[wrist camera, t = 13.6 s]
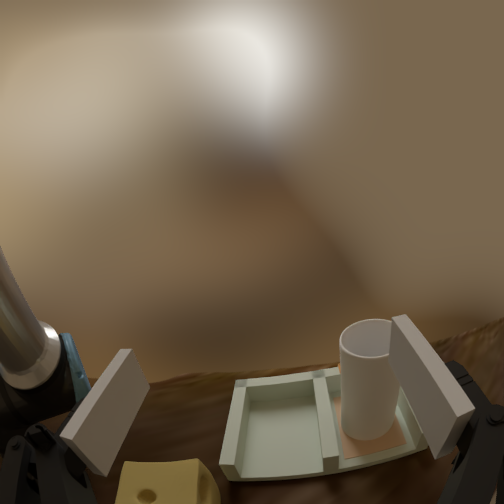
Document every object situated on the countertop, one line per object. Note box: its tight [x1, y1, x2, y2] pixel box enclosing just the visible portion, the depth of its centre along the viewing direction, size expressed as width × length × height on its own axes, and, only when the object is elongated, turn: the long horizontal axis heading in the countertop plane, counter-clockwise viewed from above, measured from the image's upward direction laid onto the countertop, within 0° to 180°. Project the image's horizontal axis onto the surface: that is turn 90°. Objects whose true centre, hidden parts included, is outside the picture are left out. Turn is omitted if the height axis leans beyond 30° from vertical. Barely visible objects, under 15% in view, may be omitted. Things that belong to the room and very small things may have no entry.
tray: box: [219, 364, 428, 481], centre depth 35 cm, size 18×28×6 cm, turn 85°
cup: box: [340, 319, 400, 441], centre depth 32 cm, size 8×8×16 cm
